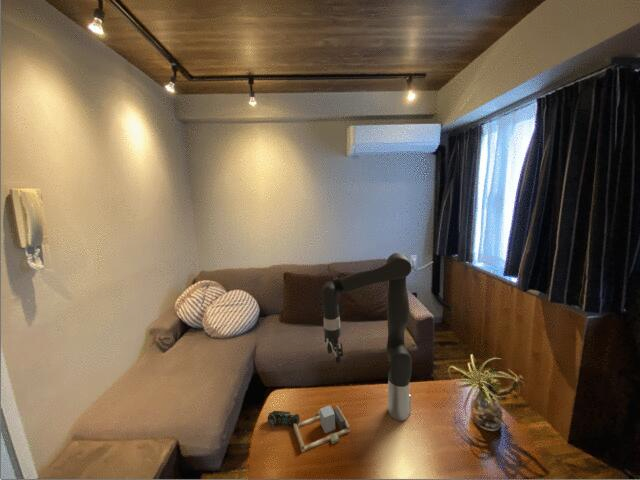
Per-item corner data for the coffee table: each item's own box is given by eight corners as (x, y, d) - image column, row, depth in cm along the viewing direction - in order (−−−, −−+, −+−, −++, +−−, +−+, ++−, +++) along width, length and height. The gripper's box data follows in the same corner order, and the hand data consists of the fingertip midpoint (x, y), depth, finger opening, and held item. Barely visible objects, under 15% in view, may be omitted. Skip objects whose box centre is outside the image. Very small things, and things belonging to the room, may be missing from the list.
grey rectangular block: (330, 420, 116) (330, 405, 115) (335, 429, 111) (334, 413, 110) (320, 424, 114) (319, 408, 113) (324, 433, 110) (324, 417, 108)
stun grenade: (299, 421, 117) (270, 418, 119) (299, 408, 116) (269, 406, 118) (296, 432, 111) (265, 429, 113) (296, 419, 110) (265, 416, 112)
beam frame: (336, 406, 123) (335, 399, 123) (352, 435, 108) (352, 427, 108) (292, 423, 115) (291, 415, 115) (303, 456, 100) (303, 448, 100)
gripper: (346, 330, 110) (348, 364, 113) (332, 317, 123) (334, 347, 126) (331, 335, 107) (333, 369, 110) (318, 320, 120) (320, 351, 123)
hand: (333, 357), depth 118 cm, fingers open, 8 cm apart
